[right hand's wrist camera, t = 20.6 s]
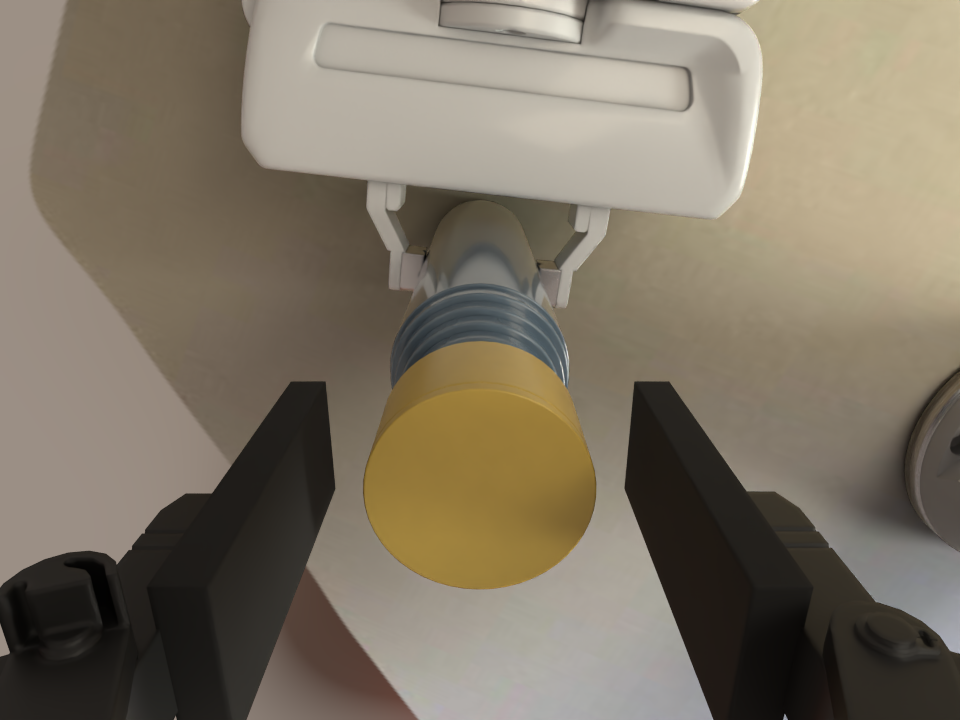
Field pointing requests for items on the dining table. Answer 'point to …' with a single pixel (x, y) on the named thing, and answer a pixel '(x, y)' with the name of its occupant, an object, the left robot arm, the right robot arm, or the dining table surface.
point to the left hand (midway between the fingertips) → (478, 296)
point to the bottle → (479, 292)
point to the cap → (479, 468)
